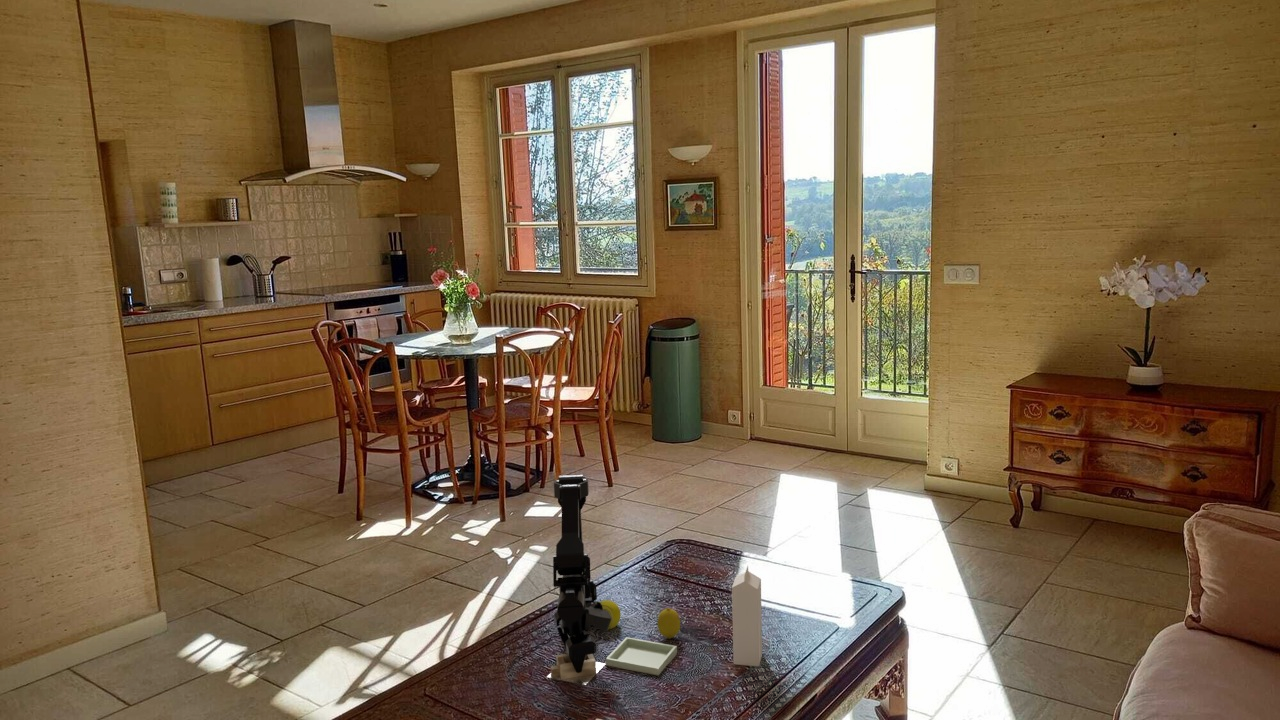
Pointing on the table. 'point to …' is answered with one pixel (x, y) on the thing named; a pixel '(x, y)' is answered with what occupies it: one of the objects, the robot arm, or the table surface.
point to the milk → (747, 619)
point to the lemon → (668, 623)
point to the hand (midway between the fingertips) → (576, 666)
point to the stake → (580, 679)
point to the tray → (642, 656)
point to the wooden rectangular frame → (568, 670)
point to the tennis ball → (612, 612)
